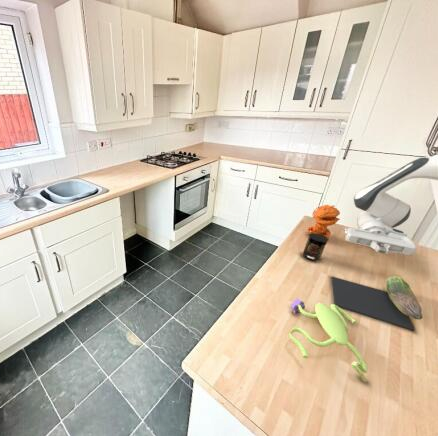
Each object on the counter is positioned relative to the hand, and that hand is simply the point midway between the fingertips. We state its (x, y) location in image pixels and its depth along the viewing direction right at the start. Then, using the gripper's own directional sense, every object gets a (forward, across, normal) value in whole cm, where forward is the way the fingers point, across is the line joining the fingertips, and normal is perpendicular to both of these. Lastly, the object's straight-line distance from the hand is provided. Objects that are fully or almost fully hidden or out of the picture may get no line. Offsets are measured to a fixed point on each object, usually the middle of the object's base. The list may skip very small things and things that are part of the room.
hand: (382, 251), depth 88 cm
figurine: (+38, -16, +13) cm, 43 cm away
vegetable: (+1, +6, +10) cm, 12 cm away
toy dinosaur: (-25, -16, +13) cm, 32 cm away
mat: (+14, -2, +13) cm, 19 cm away
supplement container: (-5, -19, +13) cm, 24 cm away
